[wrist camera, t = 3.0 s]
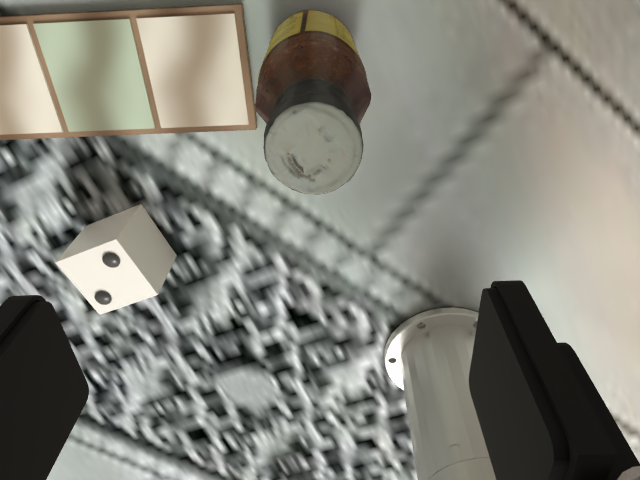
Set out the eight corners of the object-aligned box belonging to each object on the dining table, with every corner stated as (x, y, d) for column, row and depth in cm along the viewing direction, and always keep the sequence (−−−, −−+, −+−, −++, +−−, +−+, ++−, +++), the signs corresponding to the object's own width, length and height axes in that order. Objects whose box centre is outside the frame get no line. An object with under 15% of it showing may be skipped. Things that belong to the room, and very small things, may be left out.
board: (242, 3, 35) (240, 5, 34) (257, 126, 40) (255, 130, 39) (-70, 20, 36) (-79, 21, 35) (-19, 137, 41) (-26, 141, 40)
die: (141, 203, 44) (115, 240, 38) (176, 255, 47) (157, 295, 41) (86, 225, 45) (54, 263, 40) (124, 274, 48) (99, 315, 43)
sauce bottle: (278, 98, 38) (236, 228, 21) (265, 11, 35) (203, 84, 18) (361, 89, 38) (385, 216, 21) (356, 0, 35) (379, 66, 18)
